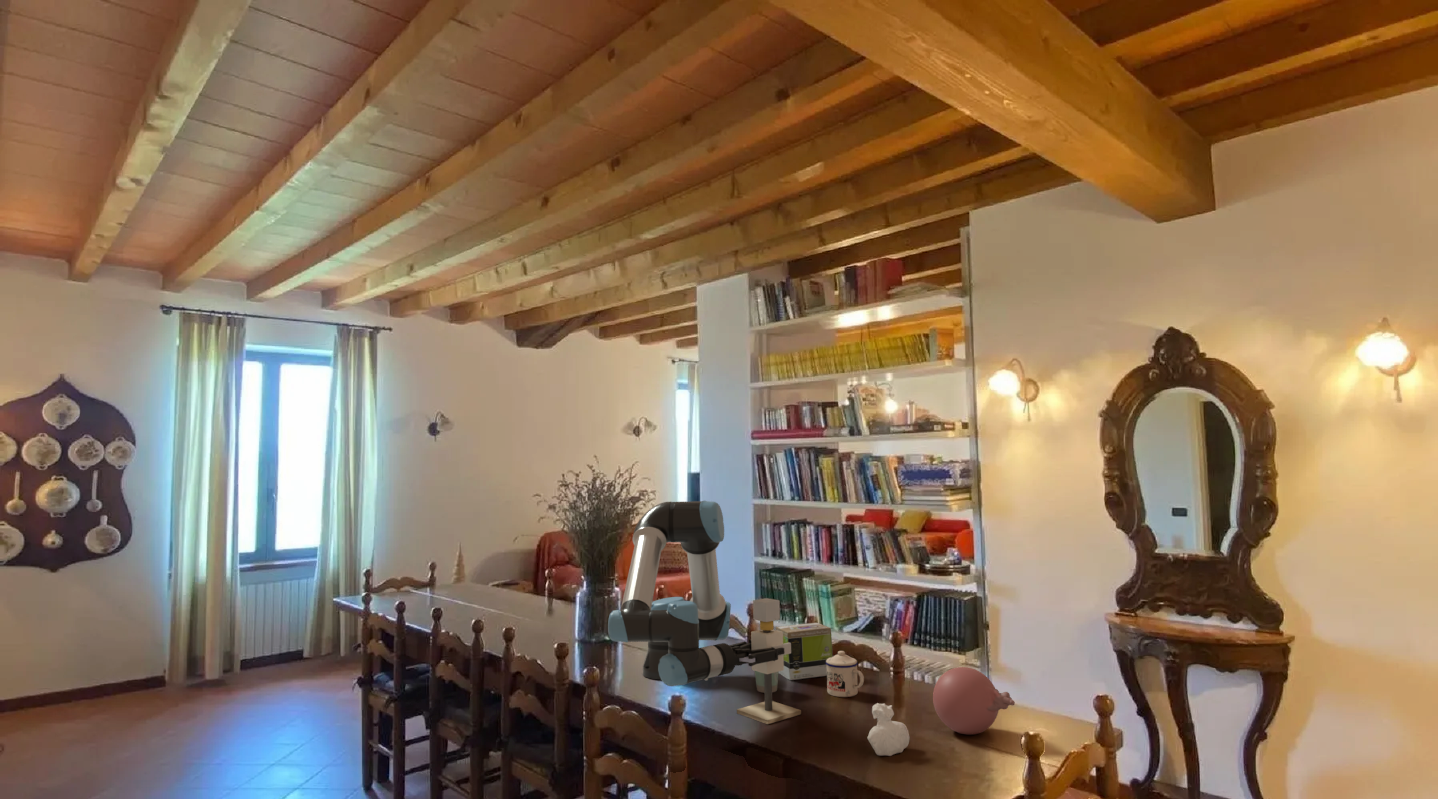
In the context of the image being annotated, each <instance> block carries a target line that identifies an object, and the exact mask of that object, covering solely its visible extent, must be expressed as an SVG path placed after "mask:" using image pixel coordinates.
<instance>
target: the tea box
mask: <svg viewBox="0 0 1438 799" xmlns="http://www.w3.org/2000/svg"><path fill="white" fill-rule="evenodd" d="M775 630H777V631H782V632H783V644H785V643H791V653H790V654H786V655H783V658H784V670H783V671H779V672H778V675H781V676H782V677H783V678H786V679H787V680H788V681H794V680H802V679H803V680H804V679H811V678H819V677H827V664H826V660H827V659H828V658H831V657H833V656H834V655H833V642H832V641H833V640H832V628H831V627H829V626H826V625H824V624H821V623H819V622H810V623H799V624H792V625H791V624H789V625H781V626H776V627H775Z"/></svg>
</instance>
